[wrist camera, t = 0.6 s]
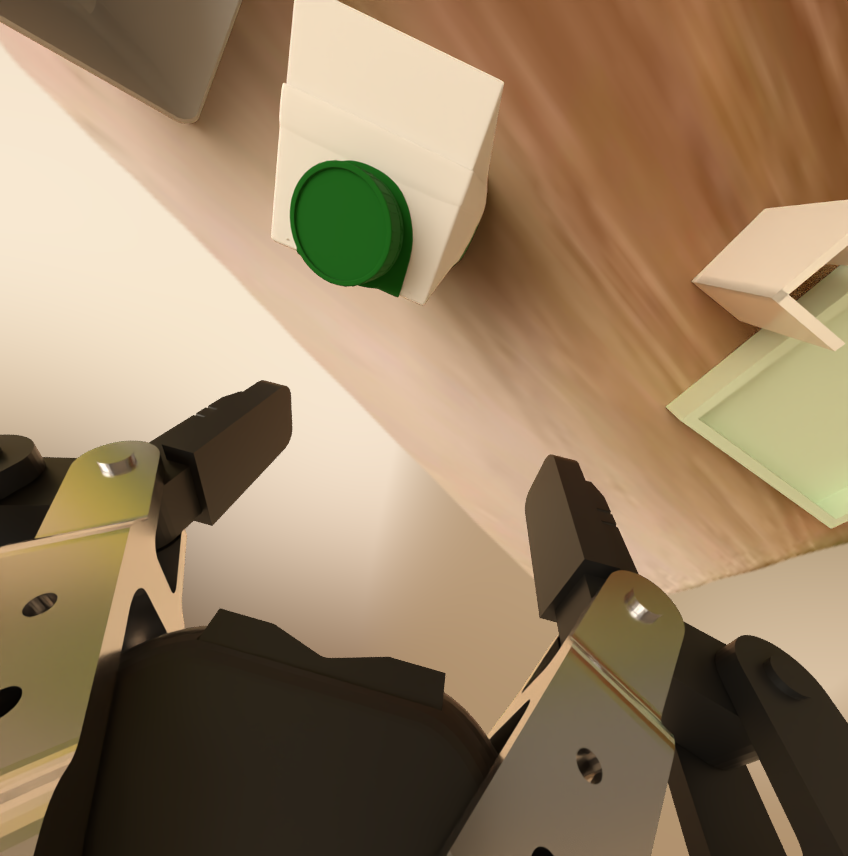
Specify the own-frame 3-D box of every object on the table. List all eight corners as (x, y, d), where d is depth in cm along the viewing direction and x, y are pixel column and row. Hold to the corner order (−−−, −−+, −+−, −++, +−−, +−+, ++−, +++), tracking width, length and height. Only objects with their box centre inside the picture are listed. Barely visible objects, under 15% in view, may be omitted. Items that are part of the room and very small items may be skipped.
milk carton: (372, 243, 30) (224, 247, 13) (402, 118, 25) (234, -135, 8) (458, 281, 30) (425, 334, 13) (504, 166, 26) (545, 22, 9)
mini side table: (691, 281, 27) (771, 297, 20) (764, 208, 24) (893, 194, 17) (739, 320, 28) (834, 351, 21) (816, 255, 25) (961, 262, 18)
